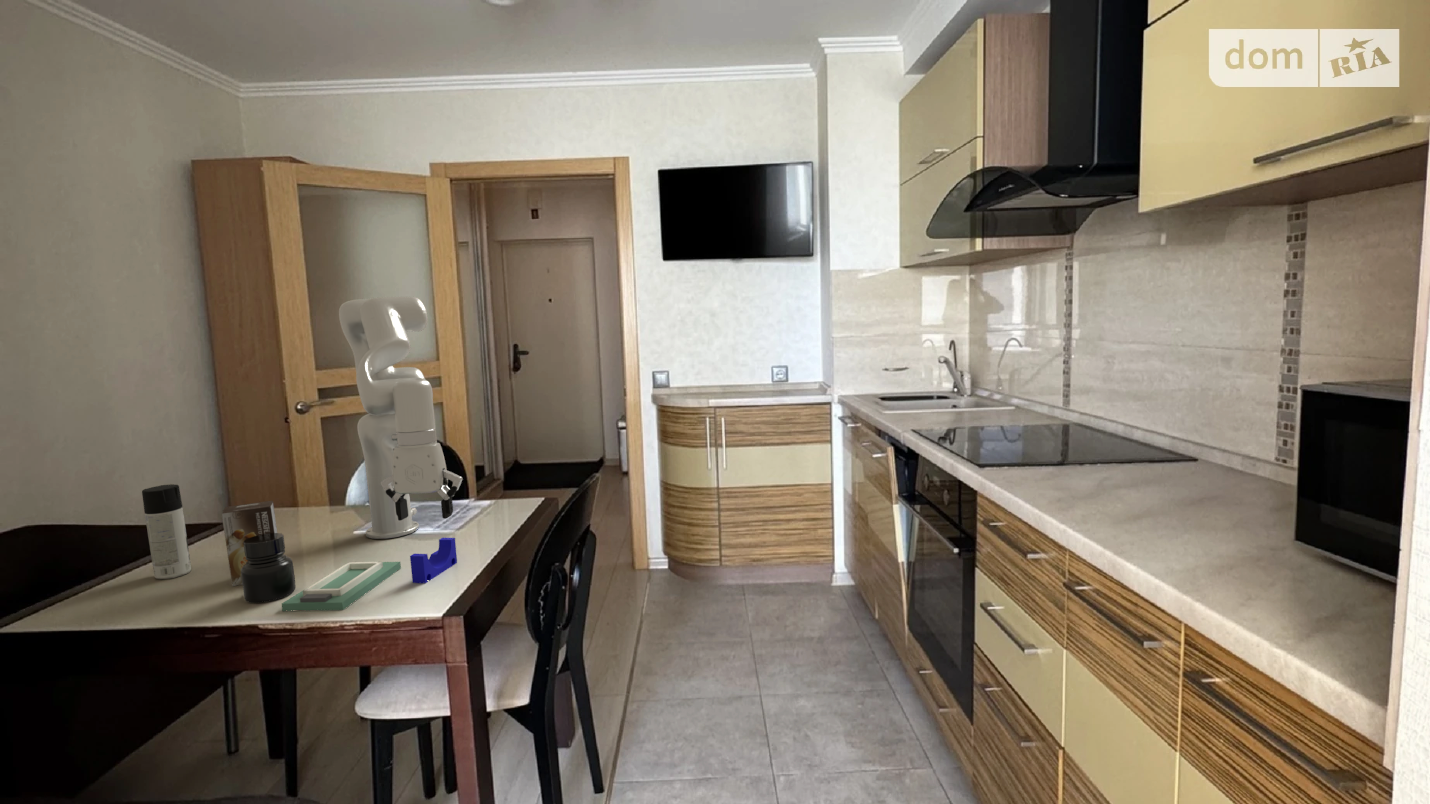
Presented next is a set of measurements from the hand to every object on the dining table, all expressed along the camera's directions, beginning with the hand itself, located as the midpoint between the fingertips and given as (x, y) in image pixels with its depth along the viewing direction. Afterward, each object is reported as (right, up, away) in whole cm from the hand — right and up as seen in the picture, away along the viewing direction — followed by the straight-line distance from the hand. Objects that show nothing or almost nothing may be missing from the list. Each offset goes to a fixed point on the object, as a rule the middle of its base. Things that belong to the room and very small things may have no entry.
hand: (425, 517), depth 149 cm
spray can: (-60, -14, +8) cm, 62 cm away
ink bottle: (-28, -15, -7) cm, 33 cm away
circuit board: (-14, -14, -5) cm, 20 cm away
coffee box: (-38, -14, +3) cm, 40 cm away
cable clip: (+1, -13, +2) cm, 13 cm away
